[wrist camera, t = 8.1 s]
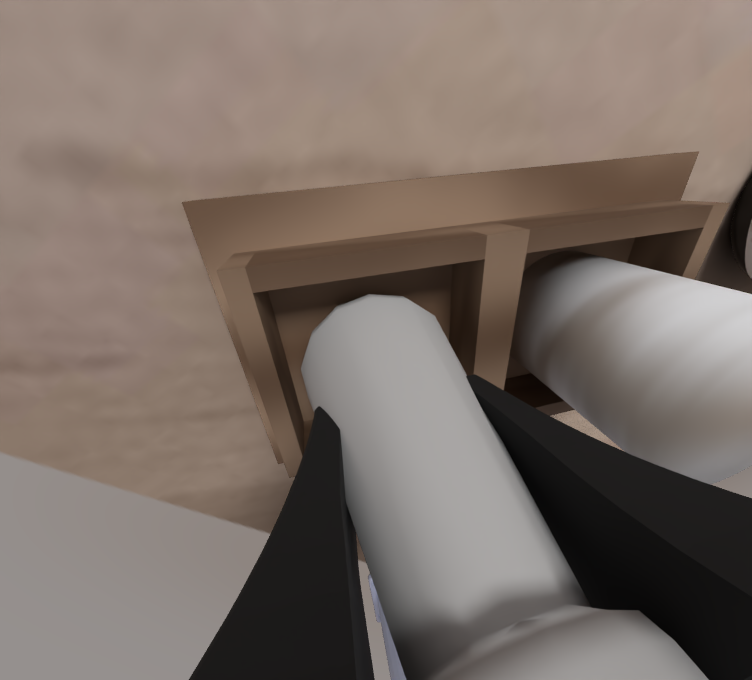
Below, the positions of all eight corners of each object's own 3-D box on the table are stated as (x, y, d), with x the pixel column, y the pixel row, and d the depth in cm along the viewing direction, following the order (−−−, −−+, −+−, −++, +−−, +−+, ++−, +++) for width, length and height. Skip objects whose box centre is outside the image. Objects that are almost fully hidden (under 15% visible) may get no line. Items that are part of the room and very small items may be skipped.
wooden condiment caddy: (595, 378, 20) (780, 503, 12) (279, 449, 17) (259, 677, 9) (674, 153, 14) (1166, 114, 6) (191, 200, 10) (-125, 250, 3)
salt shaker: (443, 349, 15) (887, 859, 4) (348, 408, 15) (489, 1036, 4) (388, 249, 12) (1950, 1406, 1) (272, 326, 12) (0, 1899, 1)
